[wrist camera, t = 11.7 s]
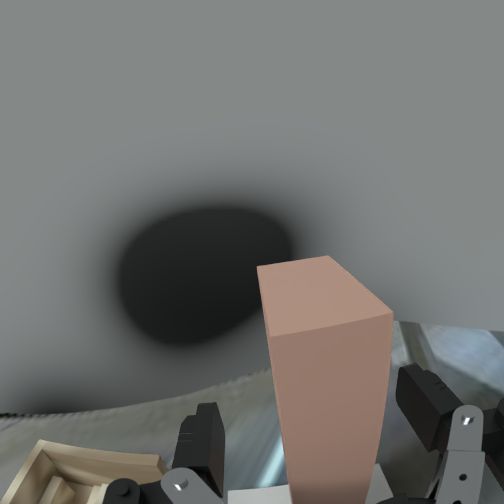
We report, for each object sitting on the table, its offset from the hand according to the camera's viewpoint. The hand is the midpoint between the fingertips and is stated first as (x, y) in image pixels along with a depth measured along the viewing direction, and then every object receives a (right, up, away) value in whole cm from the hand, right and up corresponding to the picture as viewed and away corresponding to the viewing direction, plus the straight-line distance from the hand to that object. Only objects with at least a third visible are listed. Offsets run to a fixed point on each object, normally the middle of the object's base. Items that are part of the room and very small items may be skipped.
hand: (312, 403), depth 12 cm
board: (+2, -14, +2) cm, 14 cm away
